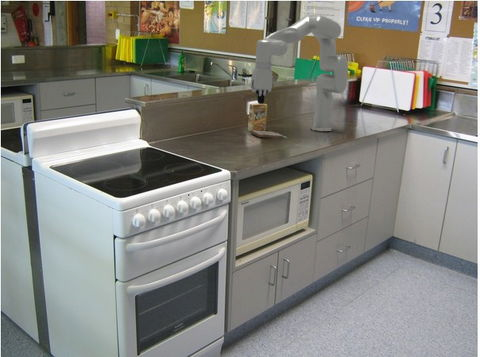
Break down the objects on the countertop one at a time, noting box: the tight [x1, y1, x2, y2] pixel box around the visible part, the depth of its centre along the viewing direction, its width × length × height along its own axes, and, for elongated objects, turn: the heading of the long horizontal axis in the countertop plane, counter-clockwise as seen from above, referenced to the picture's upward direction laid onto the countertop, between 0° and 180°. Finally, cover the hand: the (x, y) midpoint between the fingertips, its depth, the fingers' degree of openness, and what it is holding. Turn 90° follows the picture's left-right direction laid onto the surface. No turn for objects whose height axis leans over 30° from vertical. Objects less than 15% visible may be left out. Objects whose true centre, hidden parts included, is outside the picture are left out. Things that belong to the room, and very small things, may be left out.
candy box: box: [247, 103, 268, 132], centre depth 276 cm, size 9×4×15 cm, turn 118°
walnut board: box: [249, 130, 284, 139], centre depth 266 cm, size 1×10×14 cm
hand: (260, 103), depth 260 cm, fingers closed
